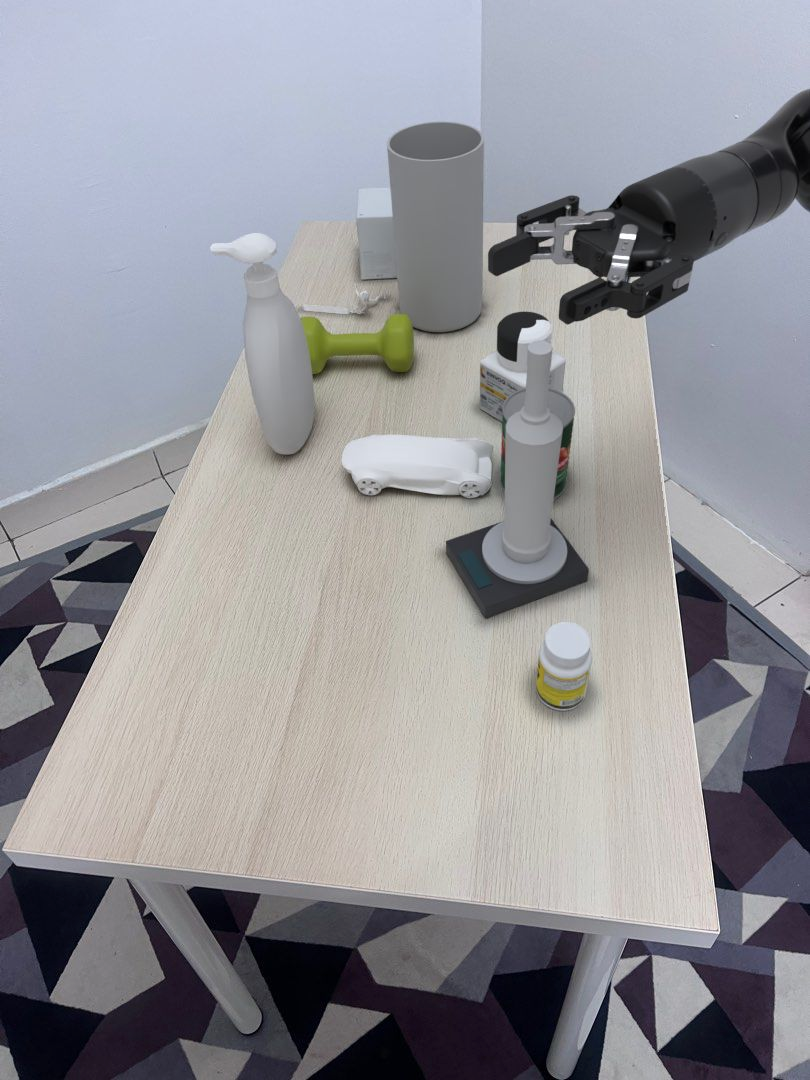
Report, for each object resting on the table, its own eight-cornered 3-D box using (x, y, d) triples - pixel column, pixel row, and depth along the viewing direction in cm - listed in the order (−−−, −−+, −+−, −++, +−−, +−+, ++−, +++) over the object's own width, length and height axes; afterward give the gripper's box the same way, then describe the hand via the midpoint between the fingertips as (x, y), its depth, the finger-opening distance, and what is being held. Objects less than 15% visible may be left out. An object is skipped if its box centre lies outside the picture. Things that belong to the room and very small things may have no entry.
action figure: (313, 300, 127) (297, 316, 122) (313, 266, 124) (297, 282, 118) (385, 311, 126) (372, 328, 120) (387, 278, 122) (374, 294, 117)
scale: (542, 519, 91) (543, 503, 89) (587, 581, 84) (590, 565, 82) (445, 552, 88) (445, 537, 86) (485, 619, 82) (485, 603, 80)
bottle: (492, 554, 84) (498, 355, 66) (514, 522, 87) (525, 324, 69) (537, 571, 82) (555, 372, 64) (557, 539, 85) (581, 339, 67)
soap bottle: (272, 396, 109) (228, 204, 90) (330, 398, 108) (297, 204, 88) (244, 468, 100) (186, 270, 80) (306, 471, 99) (264, 271, 79)
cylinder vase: (421, 283, 127) (412, 117, 108) (494, 298, 123) (498, 127, 104) (386, 325, 120) (370, 153, 101) (462, 341, 115) (460, 166, 97)
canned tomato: (568, 505, 92) (578, 431, 84) (500, 504, 93) (502, 432, 85) (564, 458, 97) (572, 385, 89) (499, 459, 98) (501, 386, 90)
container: (478, 409, 105) (478, 323, 95) (518, 382, 108) (522, 297, 98) (522, 435, 101) (527, 348, 91) (562, 407, 104) (571, 320, 94)
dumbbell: (416, 348, 115) (413, 304, 110) (413, 382, 110) (410, 337, 104) (304, 350, 116) (296, 307, 111) (296, 384, 111) (287, 339, 106)
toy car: (492, 454, 99) (493, 426, 95) (491, 499, 93) (491, 471, 90) (350, 452, 101) (345, 424, 97) (340, 495, 95) (335, 467, 92)
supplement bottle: (547, 661, 78) (554, 609, 72) (593, 681, 76) (604, 630, 70) (526, 699, 75) (531, 648, 69) (573, 720, 74) (582, 670, 67)
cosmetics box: (401, 278, 128) (396, 215, 121) (361, 281, 129) (354, 218, 121) (400, 246, 135) (396, 184, 128) (362, 249, 136) (356, 187, 128)
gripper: (626, 139, 66) (467, 203, 61) (765, 200, 57) (594, 280, 52) (616, 226, 71) (469, 291, 66) (741, 293, 63) (584, 373, 58)
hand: (525, 286), depth 59 cm, fingers open, 8 cm apart
